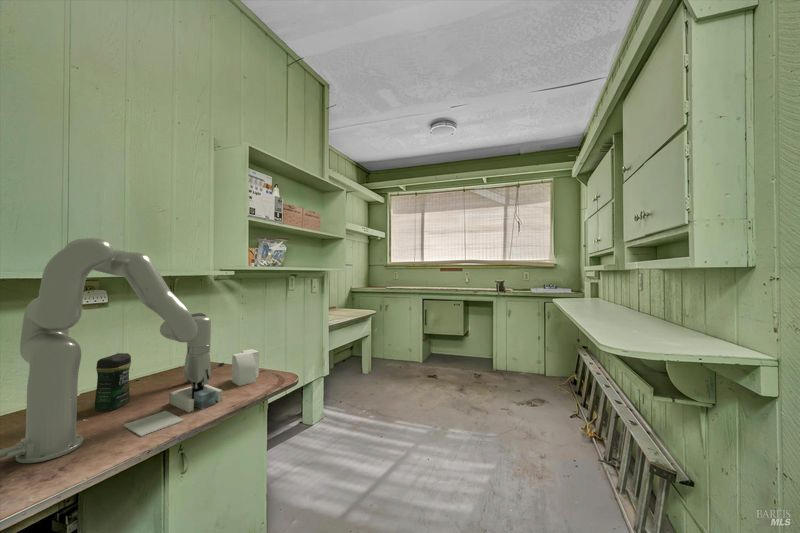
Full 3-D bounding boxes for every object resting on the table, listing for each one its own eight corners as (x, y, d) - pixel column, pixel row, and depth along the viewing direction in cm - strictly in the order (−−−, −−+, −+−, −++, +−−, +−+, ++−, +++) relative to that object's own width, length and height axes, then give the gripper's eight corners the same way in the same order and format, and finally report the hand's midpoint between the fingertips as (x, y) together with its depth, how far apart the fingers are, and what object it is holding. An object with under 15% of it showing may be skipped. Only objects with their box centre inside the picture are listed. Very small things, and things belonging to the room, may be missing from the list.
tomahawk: (197, 381, 145) (197, 379, 145) (185, 378, 146) (185, 376, 146) (232, 366, 165) (232, 364, 165) (221, 364, 167) (221, 362, 167)
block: (201, 409, 115) (201, 395, 115) (193, 406, 118) (194, 392, 118) (215, 404, 120) (215, 391, 120) (207, 401, 122) (207, 388, 122)
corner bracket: (251, 373, 154) (252, 348, 154) (263, 379, 146) (264, 353, 146) (228, 379, 146) (229, 353, 146) (239, 386, 138) (239, 358, 138)
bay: (188, 412, 113) (189, 401, 113) (169, 403, 119) (169, 392, 119) (222, 400, 123) (222, 390, 123) (202, 392, 130) (202, 383, 130)
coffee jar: (113, 412, 111) (115, 358, 111) (89, 412, 110) (90, 358, 111) (134, 400, 121) (136, 351, 121) (112, 400, 120) (113, 351, 120)
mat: (141, 436, 96) (141, 435, 96) (123, 426, 102) (123, 424, 102) (184, 420, 107) (184, 419, 107) (165, 411, 113) (165, 410, 113)
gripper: (177, 348, 121) (176, 396, 122) (199, 355, 114) (198, 406, 114) (197, 344, 128) (196, 390, 128) (220, 350, 121) (218, 399, 121)
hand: (197, 397), depth 121 cm, fingers closed
